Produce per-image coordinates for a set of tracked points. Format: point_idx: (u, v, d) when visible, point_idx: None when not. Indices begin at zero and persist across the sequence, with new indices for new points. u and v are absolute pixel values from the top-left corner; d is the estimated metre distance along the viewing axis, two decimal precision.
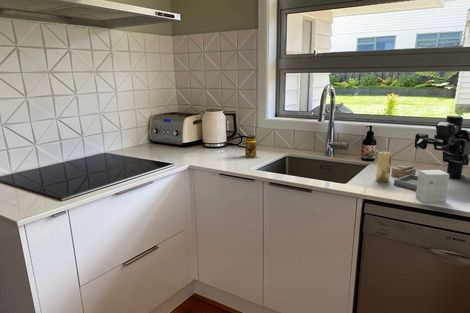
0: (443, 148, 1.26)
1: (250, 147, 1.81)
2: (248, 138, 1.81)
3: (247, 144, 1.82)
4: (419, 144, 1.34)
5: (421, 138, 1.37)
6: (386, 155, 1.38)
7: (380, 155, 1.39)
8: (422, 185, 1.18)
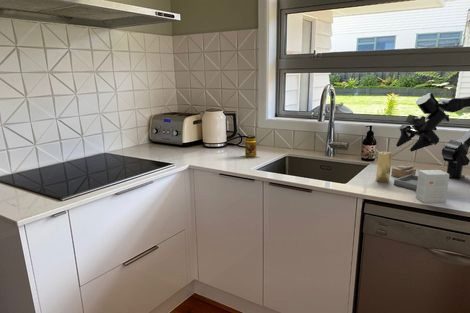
0: (412, 149, 1.36)
1: (250, 147, 1.81)
2: (248, 138, 1.81)
3: (247, 144, 1.82)
4: (399, 143, 1.45)
5: (402, 133, 1.45)
6: (386, 155, 1.38)
7: (380, 155, 1.39)
8: (422, 185, 1.18)
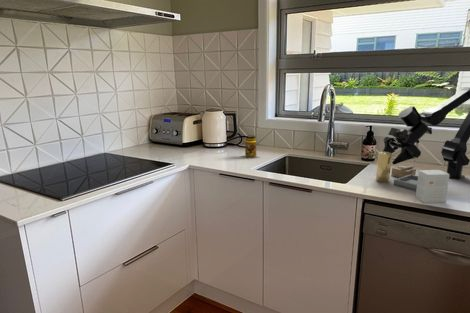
0: (394, 162, 1.36)
1: (250, 147, 1.81)
2: (248, 138, 1.81)
3: (247, 144, 1.82)
4: None
5: (385, 146, 1.46)
6: (386, 155, 1.38)
7: (380, 155, 1.39)
8: (422, 185, 1.18)
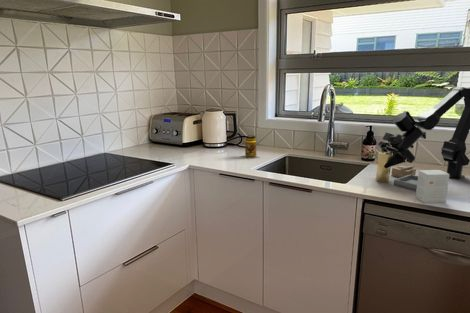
0: (386, 166, 1.38)
1: (250, 147, 1.81)
2: (248, 138, 1.81)
3: (247, 144, 1.82)
4: None
5: (382, 151, 1.44)
6: (386, 155, 1.38)
7: (380, 155, 1.39)
8: (422, 185, 1.18)
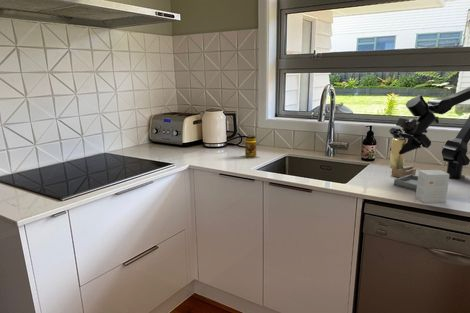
0: (401, 152, 1.35)
1: (250, 147, 1.81)
2: (248, 138, 1.81)
3: (247, 144, 1.82)
4: None
5: None
6: (401, 141, 1.34)
7: (394, 141, 1.36)
8: (422, 185, 1.18)
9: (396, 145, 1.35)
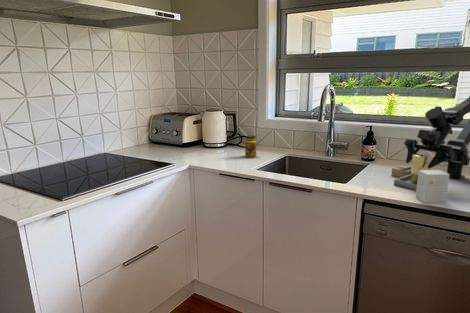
0: (430, 166, 1.29)
1: (250, 147, 1.81)
2: (248, 138, 1.81)
3: (247, 144, 1.82)
4: (409, 159, 1.37)
5: (409, 149, 1.38)
6: (424, 157, 1.31)
7: (417, 158, 1.31)
8: (422, 185, 1.18)
9: (419, 161, 1.31)
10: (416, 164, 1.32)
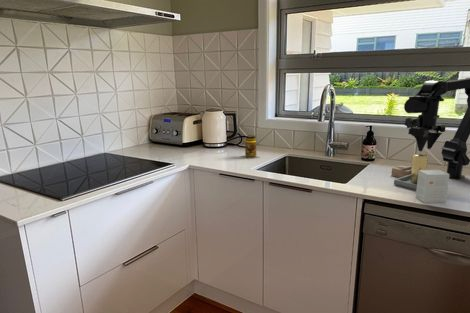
0: (419, 149, 1.38)
1: (250, 147, 1.81)
2: (248, 138, 1.81)
3: (247, 144, 1.82)
4: (429, 145, 1.42)
5: None
6: (424, 157, 1.31)
7: (418, 158, 1.31)
8: (422, 185, 1.18)
9: (420, 162, 1.31)
10: (416, 164, 1.32)
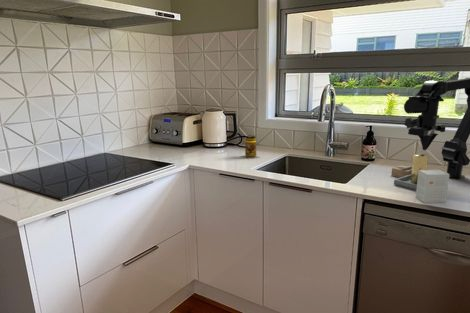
0: (423, 148, 1.40)
1: (250, 147, 1.81)
2: (248, 138, 1.81)
3: (247, 144, 1.82)
4: None
5: None
6: (425, 157, 1.30)
7: (418, 158, 1.31)
8: (422, 185, 1.18)
9: (420, 162, 1.31)
10: (417, 164, 1.32)
